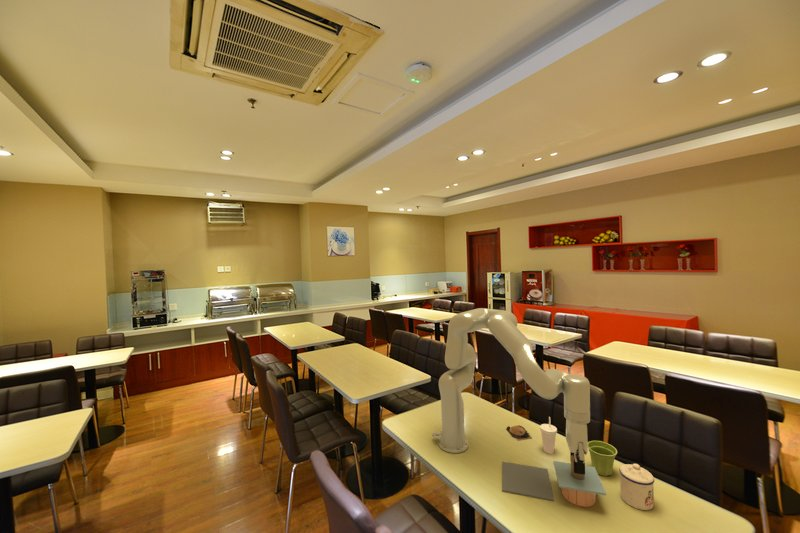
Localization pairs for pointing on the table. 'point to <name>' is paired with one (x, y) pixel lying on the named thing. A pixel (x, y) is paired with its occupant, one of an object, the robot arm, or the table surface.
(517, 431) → the bread roll
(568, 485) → the cover sheet
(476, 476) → the table surface
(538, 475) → the mat
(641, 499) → the teacup with lid
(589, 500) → the bowl
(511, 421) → the table surface
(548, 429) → the smoothie
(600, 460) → the plant pot
